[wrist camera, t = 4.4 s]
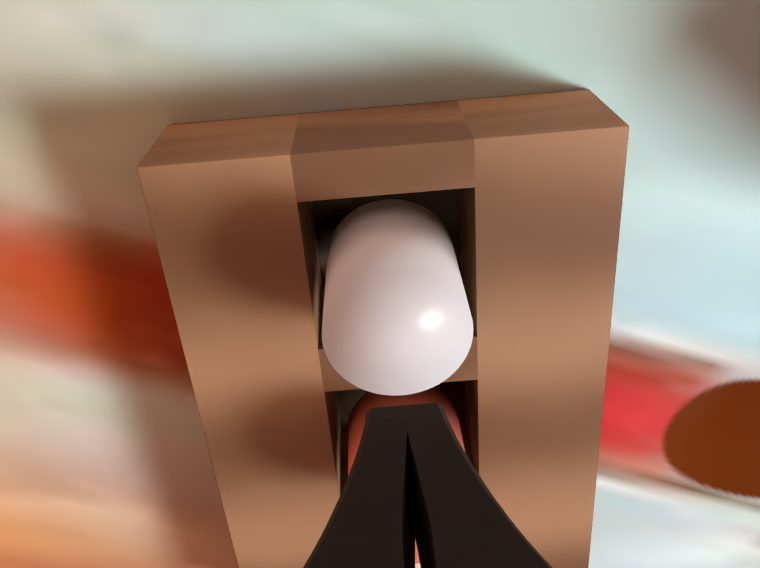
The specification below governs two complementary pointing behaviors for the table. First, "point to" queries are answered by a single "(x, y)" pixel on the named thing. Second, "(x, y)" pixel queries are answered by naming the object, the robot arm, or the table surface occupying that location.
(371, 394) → the salmon pink egg
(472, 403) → the light brown rack
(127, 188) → the table surface
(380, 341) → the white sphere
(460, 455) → the robot arm
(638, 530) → the table surface
